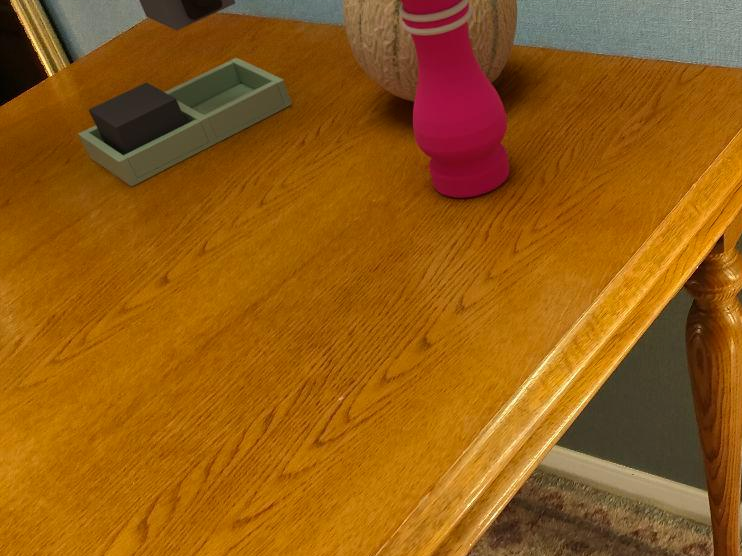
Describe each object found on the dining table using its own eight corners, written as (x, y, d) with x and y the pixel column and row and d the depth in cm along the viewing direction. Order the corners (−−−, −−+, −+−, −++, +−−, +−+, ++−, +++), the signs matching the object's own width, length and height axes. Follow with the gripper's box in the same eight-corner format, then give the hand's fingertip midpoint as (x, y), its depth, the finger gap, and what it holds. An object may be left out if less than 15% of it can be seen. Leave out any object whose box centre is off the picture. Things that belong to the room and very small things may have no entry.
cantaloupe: (342, 104, 93) (287, -75, 81) (471, 43, 97) (435, -135, 86) (425, 155, 84) (377, -38, 73) (563, 86, 88) (537, -106, 77)
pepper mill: (415, 173, 82) (344, -102, 67) (496, 145, 83) (443, -132, 68) (444, 212, 77) (374, -74, 62) (529, 181, 78) (480, -107, 64)
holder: (131, 187, 88) (118, 161, 86) (90, 158, 93) (77, 133, 91) (292, 104, 94) (283, 79, 92) (245, 81, 99) (236, 57, 97)
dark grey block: (136, 170, 89) (115, 127, 86) (108, 151, 93) (87, 109, 90) (194, 141, 91) (176, 98, 88) (165, 123, 95) (146, 81, 92)
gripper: (-1, -239, 78) (109, 3, 91) (88, -224, 68) (197, 44, 82) (85, -268, 81) (180, -28, 94) (183, -258, 71) (273, 8, 84)
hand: (187, 3), depth 88 cm, fingers closed on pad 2, 6 cm apart
